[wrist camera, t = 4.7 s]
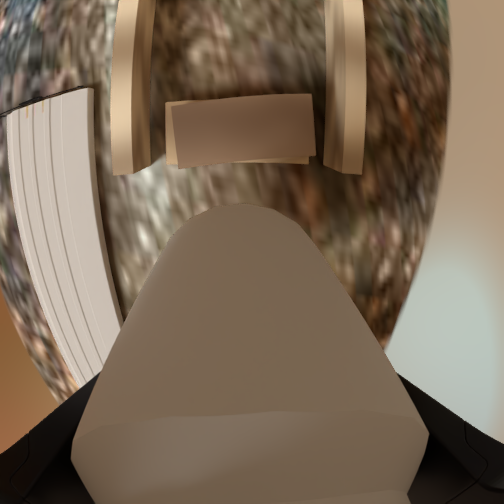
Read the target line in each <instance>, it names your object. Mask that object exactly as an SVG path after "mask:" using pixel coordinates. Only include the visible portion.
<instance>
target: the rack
mask: <svg viewBox="0 0 504 504" xmlns="http://www.w3.org/2000/svg"><path fill="white" fill-rule="evenodd" d="M324 6H325V31H326V111H325V138H324V158H323V165H325V166H327V167H329V168H332V169H334V170H336V171H338V172H341V173H348V174H360V175H362V167H363V155H364V139H365V119H366V47H365V27H364V14H363V3H362V0H324ZM155 7H156V0H119V4H118V11H117V18H116V26H115V35H114V45H113V57H112V73H111V148H112V166H113V175H124V174H134V173H136V172H138V171H140V170H142V169H144V168H146V167H148V166H151V150H150V74H151V53H152V38H153V26H154V16H155Z"/></svg>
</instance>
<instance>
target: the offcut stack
mask: <svg viewBox="0 0 504 504" xmlns="http://www.w3.org/2000/svg"><path fill="white" fill-rule="evenodd" d="M165 128H166V165H167V164H178V168H179V169H182V168H189V167H196V166H204V165H212V164H220V163H228V162H260V163H295V164H309V156H316V147H315V131H314V117H313V104H312V94H274V95H257V96H244V97H233V98H224V99H210V100H189V101H175V102H165Z"/></svg>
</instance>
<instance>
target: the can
mask: <svg viewBox="0 0 504 504" xmlns="http://www.w3.org/2000/svg"><path fill="white" fill-rule="evenodd" d="M428 436H429V432H428V430H427V428H426V426H425V424H424V422H423V421H422V419H421V417H420V415H419V413H418V411H417V409H416V407H415V406H414V404H413V402H412V400H411V398H410V396H409V395H408V393H407V391H406V389H405V387H404V386H403V384H402V382H401V380H400V379H399V377H398V375H397V373H396V372H395V370H394V368H393V366H392V365H391V363H390V361H389V360H388V358H387V356H386V354H385V353H384V351H383V349H382V348H381V346H380V344H379V343H378V341H377V339H376V338H375V336H374V334H373V333H372V331H371V329H370V328H369V326H368V325H367V323H366V321H365V320H364V318H363V317H362V315H361V313H360V312H359V310H358V309H357V307H356V305H355V304H354V302H353V301H352V299H351V298H350V296H349V295H348V293H347V291H346V290H345V288H344V287H343V285H342V284H341V282H340V281H339V279H338V278H337V276H336V275H335V273H334V272H333V270H332V269H331V267H330V266H329V264H328V263H327V261H326V260H325V258H324V257H323V255H322V254H321V252H320V251H319V249H318V248H317V247H316V245H315V244H314V242H313V241H312V240H311V239H310V237H309V236H308V235H307V234H306V233H305V232H304V230H303V229H302V228H301V227H300V226H299V224H298V223H296V222H295V221H293V220H291V219H290V218H288V217H286V216H284V215H283V214H281V213H279V212H278V211H276V210H274V209H271V208H266V207H261V206H256V205H251V204H246V203H242V204H233V205H225V206H216V207H214V208H211V209H209V210H207V211H205V212H203V213H201V214H198V215H196V216H194V217H192V218H190V219H189V220H188V221H187V222H186V223H185V224H184V225H183V226H181V227H180V228H179V229H178V230H177V231H176V232H175V233H174V234H173V235H172V236H171V237H170V239H169V241H168V242H167V244H166V246H165V248H164V249H163V251H162V253H161V254H160V256H159V258H158V260H157V262H156V263H155V265H154V267H153V269H152V270H151V272H150V274H149V276H148V278H147V280H146V281H145V283H144V285H143V287H142V289H141V291H140V293H139V294H138V296H137V298H136V300H135V302H134V304H133V306H132V308H131V310H130V312H129V314H128V316H127V318H126V320H125V322H124V324H123V326H122V328H121V330H120V332H119V334H118V336H117V338H116V340H115V342H114V344H113V346H112V348H111V351H110V353H109V355H108V357H107V359H106V361H105V363H104V366H103V368H102V370H101V372H100V375H99V377H98V379H97V381H96V384H95V386H94V388H93V391H92V393H91V396H90V398H89V400H88V403H87V405H86V408H85V410H84V413H83V415H82V418H81V420H80V423H79V425H78V428H77V431H76V433H75V436H74V439H73V443H72V452H71V461H72V463H73V465H74V467H75V469H76V471H77V473H78V475H79V476H80V478H81V480H82V482H83V484H84V485H85V487H86V489H87V491H88V492H89V494H90V496H91V497H92V499H93V501H94V502H95V504H411V503H410V501H409V498H408V496H407V493H408V491H409V488H410V486H411V484H412V482H413V480H414V478H415V475H416V473H417V471H418V468H419V466H420V463H421V461H422V458H423V456H424V453H425V449H426V445H427V441H428Z"/></svg>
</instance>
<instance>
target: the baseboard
mask: <svg viewBox="0 0 504 504" xmlns="http://www.w3.org/2000/svg"><path fill="white" fill-rule="evenodd" d="M79 87H80V88H82V87H83V86H77V87H76V88H79ZM76 88H73V89H76ZM69 90H72V89H69ZM66 91H68V90H66ZM62 92H65V91H62ZM59 93H61V92H59ZM56 94H58V93H56ZM52 95H55V94H52ZM52 95H49V96H52ZM46 97H48V96H46ZM38 98H39V99H42V97H37V98H33V99H30V100H28V101H26V102H23V103H21V104H19V105H21V106H23V105H25V104H28V103H31V101H32V102H34V101H36V100H39V99H38ZM43 98H45V97H43ZM18 107H20V106H18ZM18 107H16V108H18ZM13 109H15V108H13ZM13 109H11V110H13ZM8 111H10V110H8ZM8 111H6V112H8ZM4 113H5V112H4ZM1 114H3V113H1ZM1 114H0V115H1ZM6 116H7V143H8V158H9V170H10V179H11V187H12V194H13V200H14V206H15V212H16V217H17V222H18V227H19V232H20V236H21V240H22V245H23V249H24V252H25V256H26V260H27V263H28V267H29V270H30V274H31V277H32V280H33V283H34V286H35V289H36V292H37V295H38V298H39V301H40V304H41V306H42V309H43V312H44V314H45V317H46V319H47V322H48V324H49V327H50V329H51V331H52V334H53V336H54V338H55V341H56V343H57V345H58V347H59V349H60V351H61V354H62V356H63V358H64V360H65V362H66V364H67V366H68V368H69V370H70V372H71V374H72V375H73V377H74V379H75V381H76V383H77V385H78V386H79V388H81V387H82V386H83V385H85V384H86V383H87V382H88V381H89V380H91V379H92V378H93V377H94V376H95V375H97V374H98V373H99V372H100V371H101V370H102V368H103V366H104V363H105V361H106V359H107V357H108V355H109V353H110V351H111V348H112V346H113V344H114V342H115V340H116V338H117V336H118V334H119V332H120V330H121V328H122V326H123V324H124V322H123V318H122V315H121V311H120V307H119V303H118V299H117V295H116V291H115V287H114V282H113V278H112V273H111V268H110V263H109V258H108V253H107V248H106V242H105V236H104V230H103V224H102V217H101V210H100V202H99V194H98V184H97V174H96V161H95V144H94V89H92V88H84V89H80V90H77V91H73V92H69V93H65V94H62V95H59V96H56V97H53V98H49V99H46V100H43V101H40V102H37V103H35V104H31V105H29V106H26V107H23V108H21V109H18V110H15V111H13V112H12V113H11V114H9V115H6ZM6 116H0V117H6Z"/></svg>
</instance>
